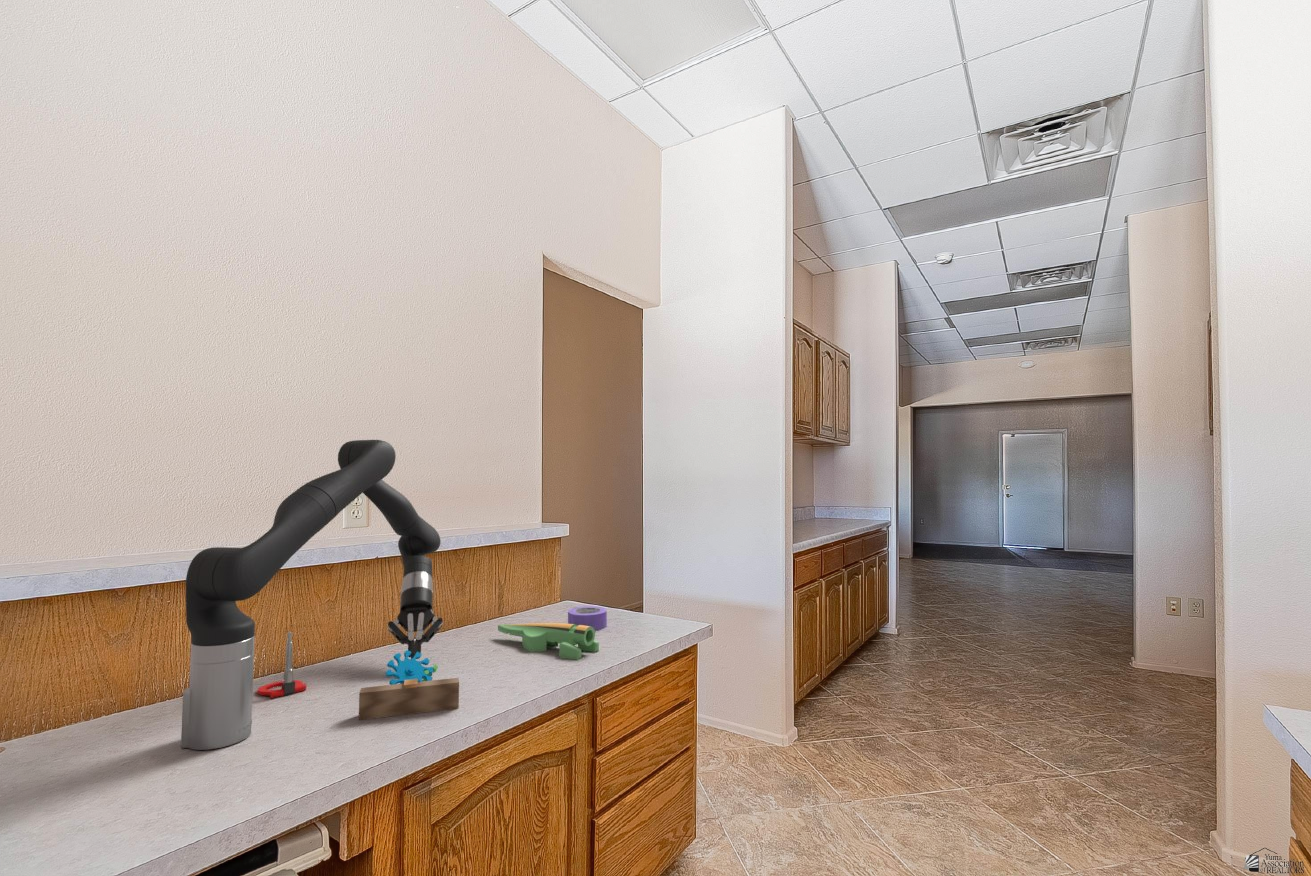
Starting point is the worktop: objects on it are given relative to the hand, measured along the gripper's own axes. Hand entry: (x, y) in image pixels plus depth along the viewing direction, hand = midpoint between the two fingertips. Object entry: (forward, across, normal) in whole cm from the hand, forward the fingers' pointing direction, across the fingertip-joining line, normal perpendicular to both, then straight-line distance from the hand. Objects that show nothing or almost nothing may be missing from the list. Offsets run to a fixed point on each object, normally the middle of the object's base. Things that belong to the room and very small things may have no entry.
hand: (414, 657), depth 143 cm
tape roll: (-19, +48, +25) cm, 58 cm away
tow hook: (+4, -26, +2) cm, 27 cm away
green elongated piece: (-7, +32, +13) cm, 35 cm away
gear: (+10, 0, -4) cm, 11 cm away
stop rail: (+19, 0, -14) cm, 24 cm away
